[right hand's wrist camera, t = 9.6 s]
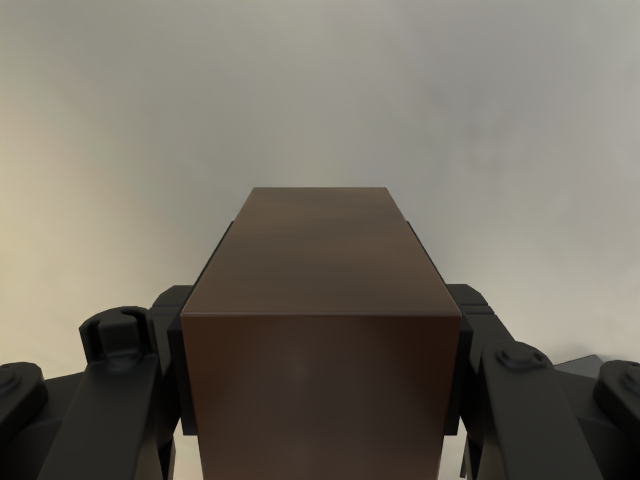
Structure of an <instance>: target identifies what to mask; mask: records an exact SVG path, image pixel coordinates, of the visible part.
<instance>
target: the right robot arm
mask: <svg viewBox="0 0 640 480" xmlns="http://www.w3.org/2000/svg"><path fill="white" fill-rule="evenodd" d="M233 222H234V221H232V222H231V224H230V225H229V227H228V229H227V230H226V232H225V234H224V235H223V237H222V239H221V240H220V242H219V244H218V245H217V247H216V249H215V250H214V252H213V254H212V255H211V257H210V259H209V260H208V262H207V264H206V265H205V267H204V269H203V270H202V272H201V274H200V275H199V277H198V279H197V280H196V282H195V284H194V285H174V286H172V287H171V288H169V289H168V290H166V291H165V292H163V293H162V294H160V295H159V297H158V298H157V299H156V301H155V302H154V304H153V305H152V307H151V308H150V309H149V310H147V309H146V308H142V307H137V306H123V307H118V308H113V309H108V310H106V311H103V312H100V313H98V314H96V315H94V316H92V317H91V318H89V319H87V320H86V321H85V322H84V323H83V324H82V325H81V326H80V327H79V332H80V336H81V340H82V344H83V347H84V351H85V355H86V359H87V363H88V365H87V367H86V369H85V371H84V372H80V373H76V374H72V375H67V376H62V377H57V378H52V379H47V380H44V377H43V374H42V371H41V368H40V367H38V366H37V365H36V364H34V363H28V362H17V363H8V364H4V365H2V366H0V480H173V473H174V464H175V454H176V449H175V443H174V437H173V433H174V431H175V429H176V426H177V424H178V421H179V419H180V418H181V424H182V430H183V435H197V430H196V423H195V416H194V409H193V402H192V395H191V388H190V381H189V374H188V367H187V359H186V352H185V345H184V338H183V331H182V324H181V317H180V314H181V311H182V310H183V308H184V306H185V305H186V303H187V301H188V299H189V298H190V296H191V294H192V293H193V291H194V289H195V287H196V286H197V284H198V282H199V281H200V279H201V277H202V275H203V274H204V272H205V270H206V269H207V267H208V265H209V263H210V262H211V260H212V258H213V257H214V255H215V253H216V251H217V250H218V248H219V246H220V245H221V243H222V241H223V239H224V238H225V236H226V234H227V233H228V231H229V229H230V227H231V226H232V224H233ZM407 223H408V225H409V226H410V228H411V230H412V231H413V233H414V235H415V236H416V238H417V240H418V241H419V243H420V245H421V246H422V248H423V250H424V251H425V253H426V255H427V256H428V258H429V260H430V261H431V263H432V265H433V266H434V268H435V270H436V271H437V273H438V275H439V276H440V278H441V280H442V281H443V283H444V285H445V286H446V288H447V290H448V291H449V293H450V295H451V296H452V298H453V300H454V301H455V303H456V305H457V306H458V308H459V310H460V311H461V313H462V318H461V325H460V332H459V338H458V345H457V352H456V359H455V365H454V372H453V379H452V386H451V393H450V399H449V406H448V413H447V420H446V426H445V433H444V436H457V432H458V426H459V419H460V416H461V418H462V421H463V423H464V426H465V428H466V431H467V437H466V443H465V449H464V454H463V460H462V466H461V472H460V477H461V478H465V476H466V472H467V480H640V364H639V363H637V362H632V361H622V360H614V361H608V362H605V363H604V364H603V365H601V366H600V369H599V372H598V375H597V378H592V377H587V376H582V375H577V374H572V373H567V372H563V371H559V370H556V369H555V368H554V366H553V364H552V363H551V361H550V360H549V359H548V357H547V356H546V355H545V354H543V353H542V352H541V351H539V350H538V349H536V348H534V347H532V346H530V345H528V344H525V343H523V342H518V341H515V340H514V338H513V337H512V336H511V334H510V333H509V332H508V330H507V329H506V328H505V326H504V325H503V323H502V322H501V321H500V319H499V318H498V317H497V315H495V314H494V311H493V310H492V308H491V307H490V306H488V303H487V302H486V300H485V299H484V297H483V296H482V295H481V293H479V292H478V291H476V290H475V289H473V288H472V287H470V286H468V285H467V284H446V283H445V282H444V280H443V278H442V277H441V275H440V273H439V272H438V270H437V268H436V267H435V265H434V263H433V262H432V260H431V258H430V257H429V255H428V253H427V252H426V250H425V248H424V247H423V245H422V243H421V242H420V240H419V238H418V237H417V235H416V233H415V232H414V230H413V228H412V227H411V225H410V223H409V222H408V221H407Z"/></svg>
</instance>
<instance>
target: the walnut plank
mask: <svg viewBox="0 0 640 480" xmlns="http://www.w3.org/2000/svg"><path fill="white" fill-rule="evenodd" d="M180 317H181V324H182V331H183V338H184V345H185V352H186V359H187V367H188V374H189V381H190V388H191V395H192V402H193V409H194V416H195V423H196V430H197V437H198V444H199V451H200V458H201V466H202V473H203V480H438V474H439V467H440V460H441V454H442V447H443V440H444V433H445V426H446V420H447V413H448V406H449V399H450V393H451V386H452V379H453V372H454V365H455V359H456V352H457V345H458V338H459V332H460V325H461V318H462V313H461V311H460V310H459V308H458V306H457V305H456V303H455V301H454V300H453V298H452V296H451V295H450V293H449V291H448V290H447V288H446V286H445V285H444V283H443V281H442V280H441V278H440V276H439V275H438V273H437V271H436V270H435V268H434V266H433V265H432V263H431V261H430V260H429V258H428V256H427V255H426V253H425V251H424V250H423V248H422V246H421V245H420V243H419V241H418V240H417V238H416V236H415V235H414V233H413V231H412V230H411V228H410V226H409V225H408V223H407V221H406V220H405V218H404V216H403V215H402V213H401V211H400V210H399V208H398V207H397V205H396V203H395V202H394V200H393V198H392V197H391V195H390V193H389V192H388V190H387V188H319V187H255V188H253V190H252V191H251V193H250V195H249V197H248V198H247V200H246V202H245V203H244V205H243V207H242V209H241V210H240V212H239V214H238V215H237V217H236V219H235V221H234V222H233V224H232V226H231V227H230V229H229V231H228V233H227V234H226V236H225V238H224V239H223V241H222V243H221V245H220V246H219V248H218V250H217V251H216V253H215V255H214V257H213V258H212V260H211V262H210V263H209V265H208V267H207V269H206V270H205V272H204V274H203V275H202V277H201V279H200V281H199V282H198V284H197V286H196V287H195V289H194V291H193V293H192V294H191V296H190V298H189V299H188V301H187V303H186V305H185V306H184V308H183V310H182V311H181V314H180Z"/></svg>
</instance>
